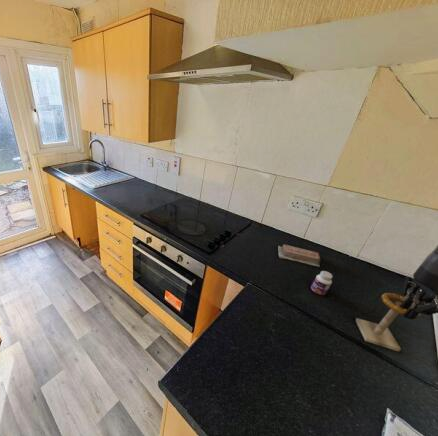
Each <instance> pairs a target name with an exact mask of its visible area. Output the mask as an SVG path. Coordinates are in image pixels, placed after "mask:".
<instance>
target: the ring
mask: <svg viewBox="0 0 438 436" xmlns="http://www.w3.org/2000/svg"><path fill="white" fill-rule="evenodd" d="M380 299H381V301H382V302H383V304H384V305H385V306H386V307H388V308H389V309H392V310H394V311H396V312H398V313H399V314H400V315H403V314H404V313H405V312H406V311H407V309H404V308H401V307H399V306H397V305H396V304H395V302H393V301H392V300H394V301H395V300H396V301H397V302H401V303H402V302H403V301H404V295H400V294H396V293H394V292H384V293H382V295H381V297H380ZM420 316H421V313H419V315H418V316H417V317H420Z"/></svg>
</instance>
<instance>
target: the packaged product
mask: <svg viewBox="0 0 438 436" xmlns="http://www.w3.org/2000/svg"><path fill="white" fill-rule="evenodd" d="M277 253H278V258H280V259H285V260H289V261H292V262H298V263H303V264H305V265H310V266H314V267H318V268H320V267H321V266H320V263H321V257H320V254H319V252H317V251H313V250H309V249H304V248H301V247H298V246H297V247H296V246H292V245H290V244H289V245H288V244H282V246H280V245H278V247H277Z"/></svg>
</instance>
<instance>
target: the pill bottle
mask: <svg viewBox="0 0 438 436" xmlns="http://www.w3.org/2000/svg"><path fill="white" fill-rule="evenodd" d="M333 278H334V277H333V274H332V273H330V272H329V271H326V270H321V271H320V273H319V274H317V275H315V278H314V280H313V282H312V284H311V285H310V290H312V292H314V293H315V294H318V295H320V296H325V295H326V294H327V293H328V291H329V289H330V287H331V285H332V283H333V280H332V279H333Z"/></svg>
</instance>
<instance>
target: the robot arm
mask: <svg viewBox="0 0 438 436" xmlns="http://www.w3.org/2000/svg"><path fill="white" fill-rule="evenodd" d="M401 296H403V297H404V301H403V302H401V303H402V304H401V305H400V307H401V308H404V309H407V311H406V312H405V313H404V314H402V316H403V317H404V318H405V319H409V320H415V319H416V318H417V317H419V316H418V315H419V313H421V314H422V315H425V316H431V315H434V314H435V315H436V314H438V244H437V245H436V246H435V248H434V249H433V250H432V251H431V252H430V253H429V254H428V255H427V256H426V257H425V259H423V261H422V262H421V264H420V265H419V266H418V268H417V269H416V270H415V271H414V273H413V274H412V277H411V276H405V277H404V281H403V285H402V289H401ZM419 305H420V306H419Z"/></svg>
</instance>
